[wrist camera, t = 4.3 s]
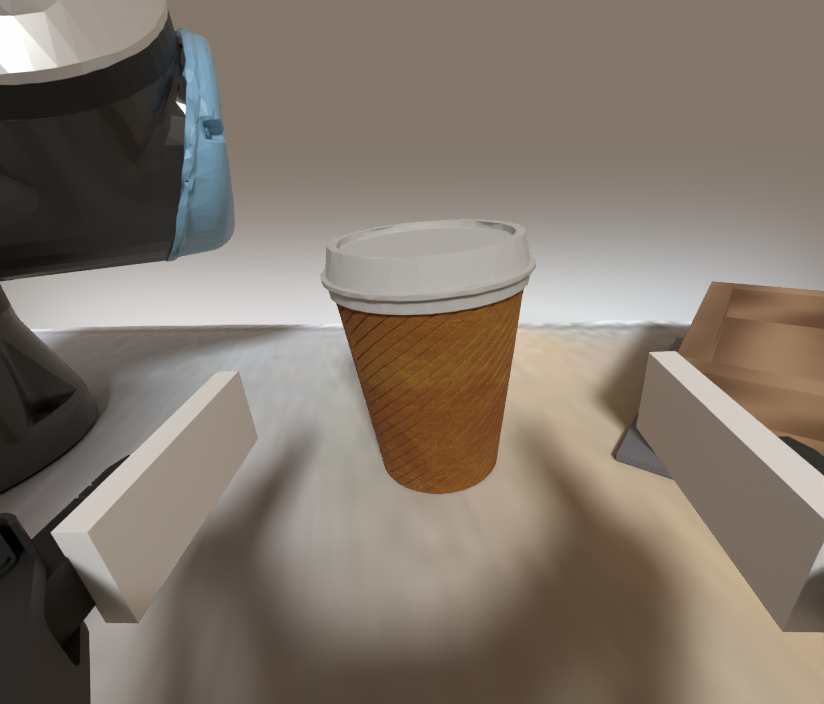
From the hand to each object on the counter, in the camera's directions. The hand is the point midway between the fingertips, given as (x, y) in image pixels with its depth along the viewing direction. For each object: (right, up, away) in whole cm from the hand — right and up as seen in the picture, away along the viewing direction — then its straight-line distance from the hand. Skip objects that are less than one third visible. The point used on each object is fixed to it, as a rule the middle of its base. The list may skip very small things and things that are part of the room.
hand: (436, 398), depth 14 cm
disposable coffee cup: (+1, -4, +10) cm, 11 cm away
